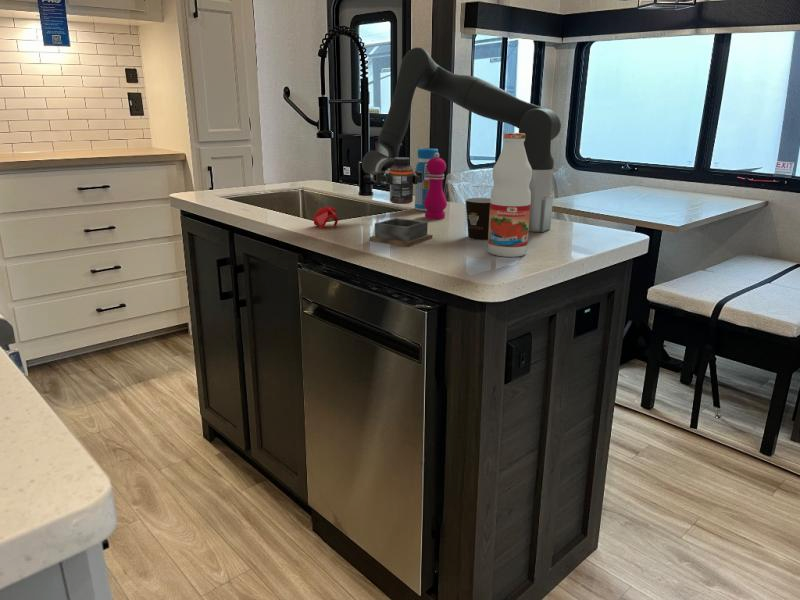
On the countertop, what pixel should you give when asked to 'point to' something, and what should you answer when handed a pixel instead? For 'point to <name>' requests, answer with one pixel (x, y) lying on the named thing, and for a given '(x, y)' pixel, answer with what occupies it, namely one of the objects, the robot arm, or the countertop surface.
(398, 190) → the supplement bottle
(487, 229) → the coffee mug
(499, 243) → the fruit juice
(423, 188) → the beverage bottle
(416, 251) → the countertop surface
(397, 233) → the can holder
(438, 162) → the pepper mill
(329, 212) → the red toy crab
